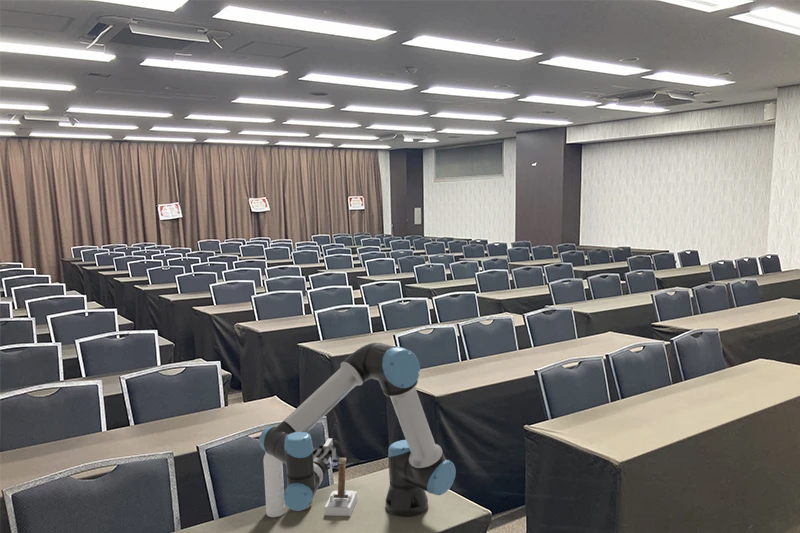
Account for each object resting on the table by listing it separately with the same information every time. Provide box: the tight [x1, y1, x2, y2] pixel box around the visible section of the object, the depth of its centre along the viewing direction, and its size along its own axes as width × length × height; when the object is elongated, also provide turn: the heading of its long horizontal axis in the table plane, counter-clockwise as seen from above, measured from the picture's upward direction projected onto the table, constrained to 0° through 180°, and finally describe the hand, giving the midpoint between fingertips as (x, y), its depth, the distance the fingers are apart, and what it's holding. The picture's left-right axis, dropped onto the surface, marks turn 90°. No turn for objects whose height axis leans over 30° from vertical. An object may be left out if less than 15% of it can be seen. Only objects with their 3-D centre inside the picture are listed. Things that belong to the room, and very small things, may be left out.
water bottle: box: [262, 451, 286, 518], centre depth 199 cm, size 9×6×25 cm
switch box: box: [324, 489, 358, 517], centre depth 203 cm, size 9×12×5 cm
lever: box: [334, 457, 348, 498], centre depth 205 cm, size 5×3×14 cm, turn 83°
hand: (330, 442), depth 191 cm, fingers closed
